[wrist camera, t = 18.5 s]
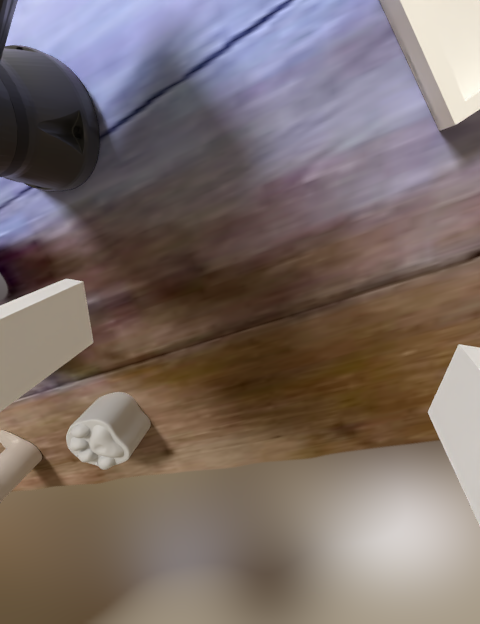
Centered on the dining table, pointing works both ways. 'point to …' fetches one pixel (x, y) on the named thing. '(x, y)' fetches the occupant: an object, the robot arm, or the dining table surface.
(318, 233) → the dining table surface
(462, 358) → the robot arm
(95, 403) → the lumpy-topped squat cylinder
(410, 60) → the tray
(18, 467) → the candle
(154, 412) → the dining table surface
